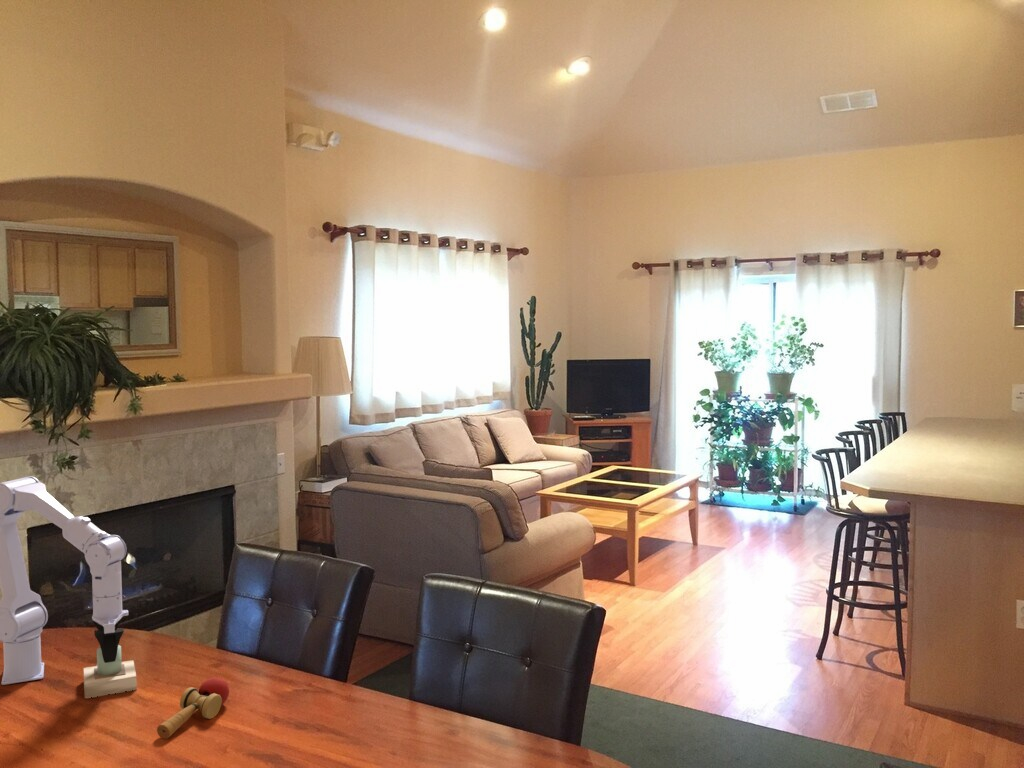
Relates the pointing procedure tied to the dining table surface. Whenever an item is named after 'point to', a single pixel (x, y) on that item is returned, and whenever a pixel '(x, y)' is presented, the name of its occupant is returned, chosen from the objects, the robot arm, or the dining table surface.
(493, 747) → the dining table surface
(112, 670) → the pale green rounded cylinder
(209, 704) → the kendama
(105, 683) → the birch base
